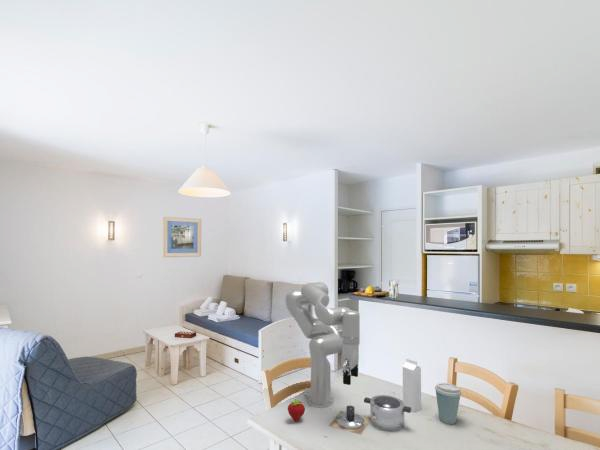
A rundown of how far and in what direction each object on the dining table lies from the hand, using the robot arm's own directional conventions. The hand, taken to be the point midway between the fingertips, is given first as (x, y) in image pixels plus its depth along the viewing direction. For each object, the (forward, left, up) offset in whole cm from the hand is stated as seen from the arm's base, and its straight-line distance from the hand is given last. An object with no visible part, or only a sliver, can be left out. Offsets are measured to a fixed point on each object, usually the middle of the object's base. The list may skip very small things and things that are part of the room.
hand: (350, 380), depth 146 cm
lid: (0, 0, -18) cm, 18 cm away
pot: (+14, +7, -18) cm, 24 cm away
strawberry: (-21, -10, -18) cm, 30 cm away
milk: (+21, +27, -18) cm, 39 cm away
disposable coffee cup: (+37, +23, -18) cm, 47 cm away
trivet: (0, 0, -18) cm, 18 cm away
